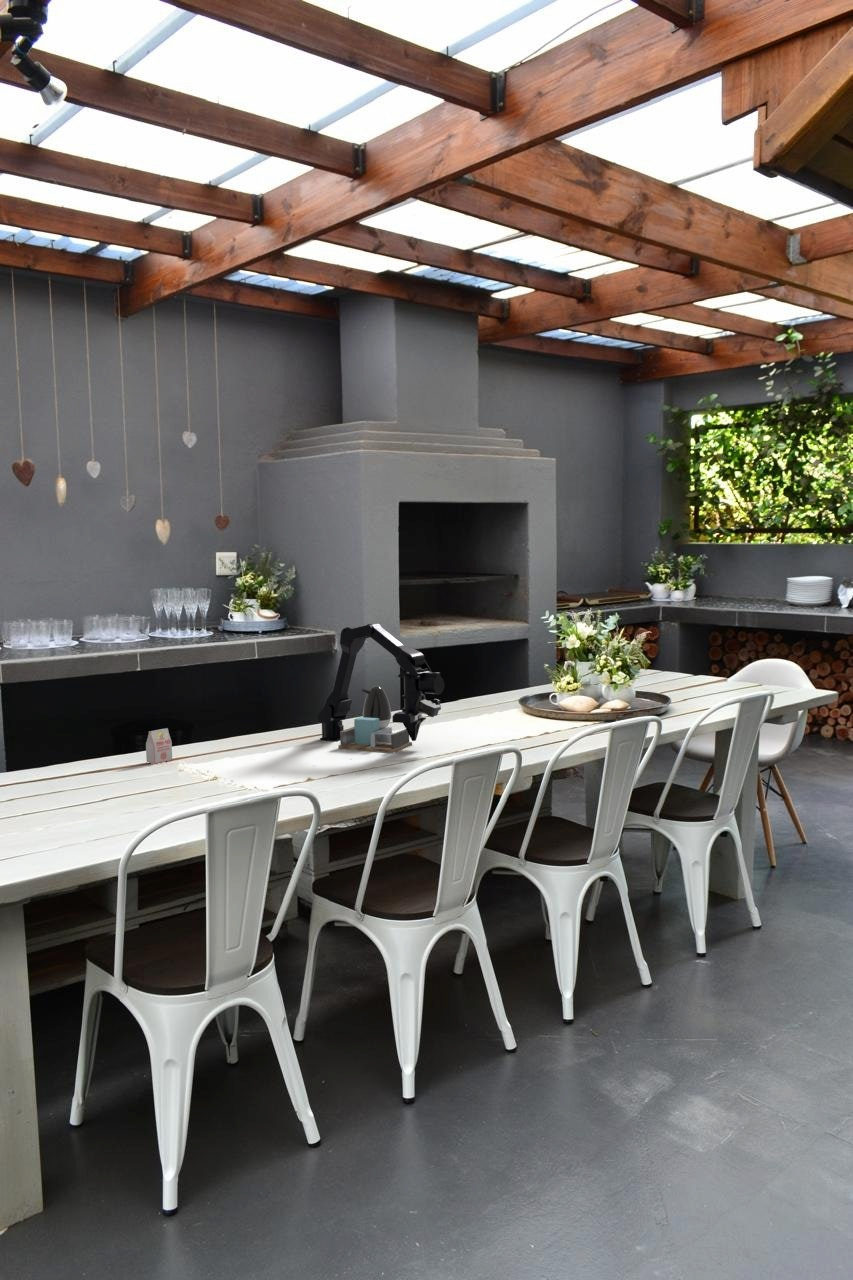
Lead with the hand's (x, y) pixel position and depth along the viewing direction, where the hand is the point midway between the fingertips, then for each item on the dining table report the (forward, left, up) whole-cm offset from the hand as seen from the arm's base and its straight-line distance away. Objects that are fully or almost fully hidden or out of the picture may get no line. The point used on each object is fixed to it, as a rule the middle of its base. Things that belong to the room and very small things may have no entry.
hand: (413, 740), depth 321 cm
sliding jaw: (-8, 0, -2) cm, 9 cm away
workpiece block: (-17, 0, -2) cm, 17 cm away
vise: (-14, 0, -3) cm, 14 cm away
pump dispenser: (-29, +30, -3) cm, 42 cm away
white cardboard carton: (-66, -43, -3) cm, 79 cm away
